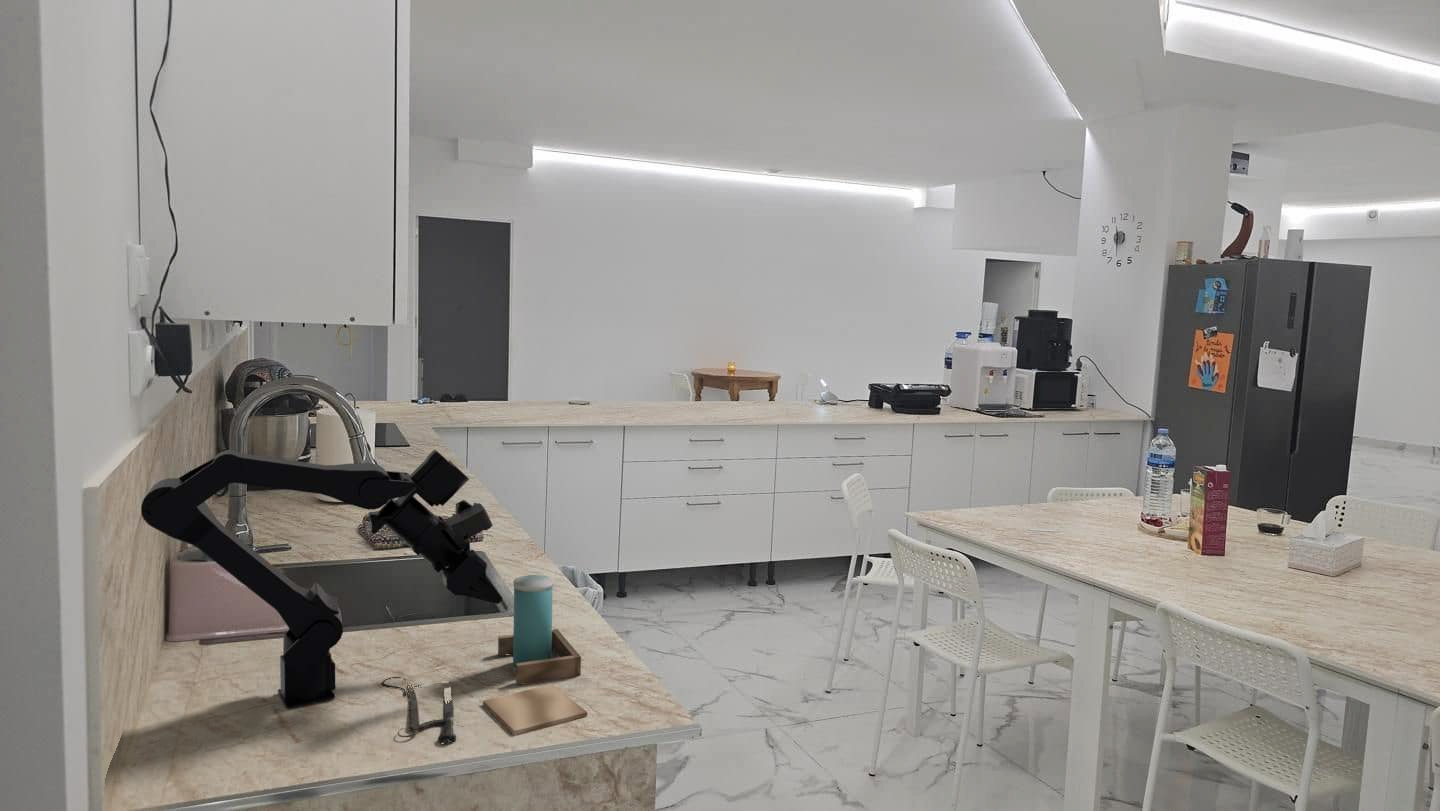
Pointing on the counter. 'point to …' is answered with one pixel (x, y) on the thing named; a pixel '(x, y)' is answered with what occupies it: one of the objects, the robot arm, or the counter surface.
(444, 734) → the hacksaw
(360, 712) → the counter surface
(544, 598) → the tin
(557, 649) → the cubby
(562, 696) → the mat
